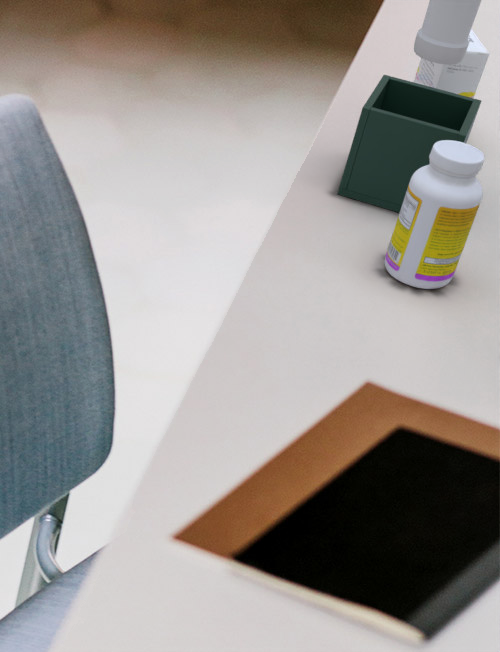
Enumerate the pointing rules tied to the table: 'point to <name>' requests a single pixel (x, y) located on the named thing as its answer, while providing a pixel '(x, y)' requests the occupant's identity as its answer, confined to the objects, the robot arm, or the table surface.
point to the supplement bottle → (436, 216)
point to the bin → (401, 138)
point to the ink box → (456, 70)
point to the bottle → (446, 30)
